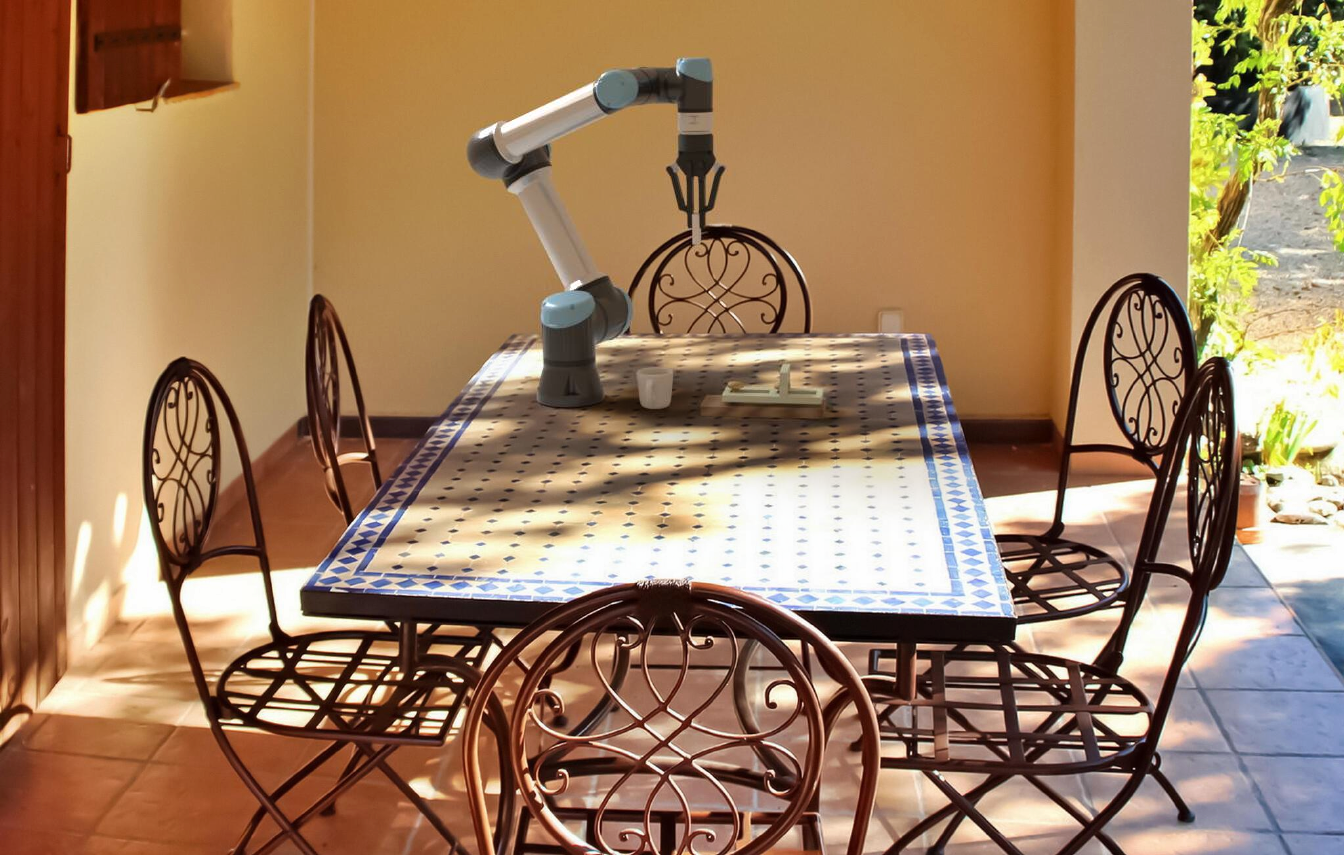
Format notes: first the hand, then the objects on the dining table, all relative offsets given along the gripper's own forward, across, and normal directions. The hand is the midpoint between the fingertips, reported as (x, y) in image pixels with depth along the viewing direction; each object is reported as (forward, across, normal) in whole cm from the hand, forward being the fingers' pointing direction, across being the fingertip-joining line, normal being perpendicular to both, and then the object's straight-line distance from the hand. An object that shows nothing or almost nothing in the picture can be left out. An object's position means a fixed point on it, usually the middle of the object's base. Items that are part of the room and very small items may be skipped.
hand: (696, 243), depth 311 cm
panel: (+32, +18, -10) cm, 38 cm away
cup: (+35, -8, -10) cm, 37 cm away
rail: (+34, +16, -10) cm, 39 cm away
